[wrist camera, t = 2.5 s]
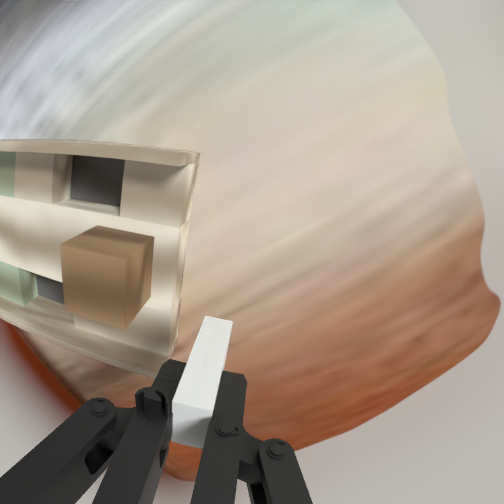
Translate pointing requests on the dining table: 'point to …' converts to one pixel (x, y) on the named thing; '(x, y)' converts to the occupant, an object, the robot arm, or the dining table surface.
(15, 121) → the dining table surface
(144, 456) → the robot arm
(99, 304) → the block
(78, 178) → the box
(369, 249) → the dining table surface
